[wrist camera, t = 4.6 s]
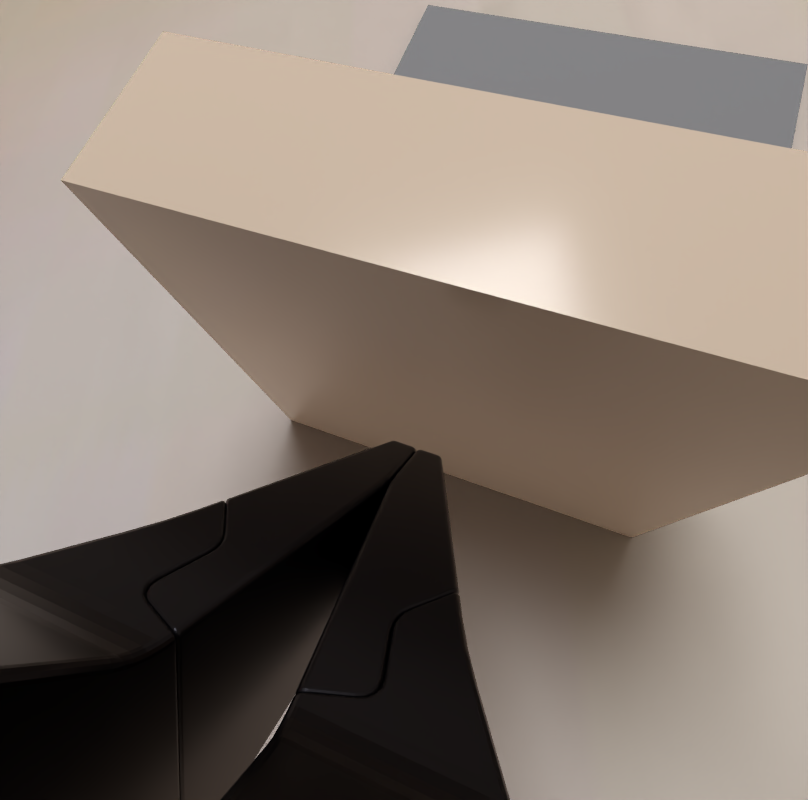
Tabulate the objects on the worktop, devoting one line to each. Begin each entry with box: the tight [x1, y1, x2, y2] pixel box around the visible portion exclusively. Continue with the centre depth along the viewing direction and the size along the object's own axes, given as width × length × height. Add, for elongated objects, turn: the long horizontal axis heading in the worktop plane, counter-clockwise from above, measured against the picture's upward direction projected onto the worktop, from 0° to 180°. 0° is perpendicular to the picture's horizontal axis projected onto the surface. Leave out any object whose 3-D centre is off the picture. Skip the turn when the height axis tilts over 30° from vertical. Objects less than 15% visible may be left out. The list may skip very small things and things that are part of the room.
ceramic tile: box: [61, 32, 808, 538], centre depth 12 cm, size 3×11×11 cm, turn 70°
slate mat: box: [394, 5, 808, 148], centre depth 20 cm, size 15×15×1 cm
